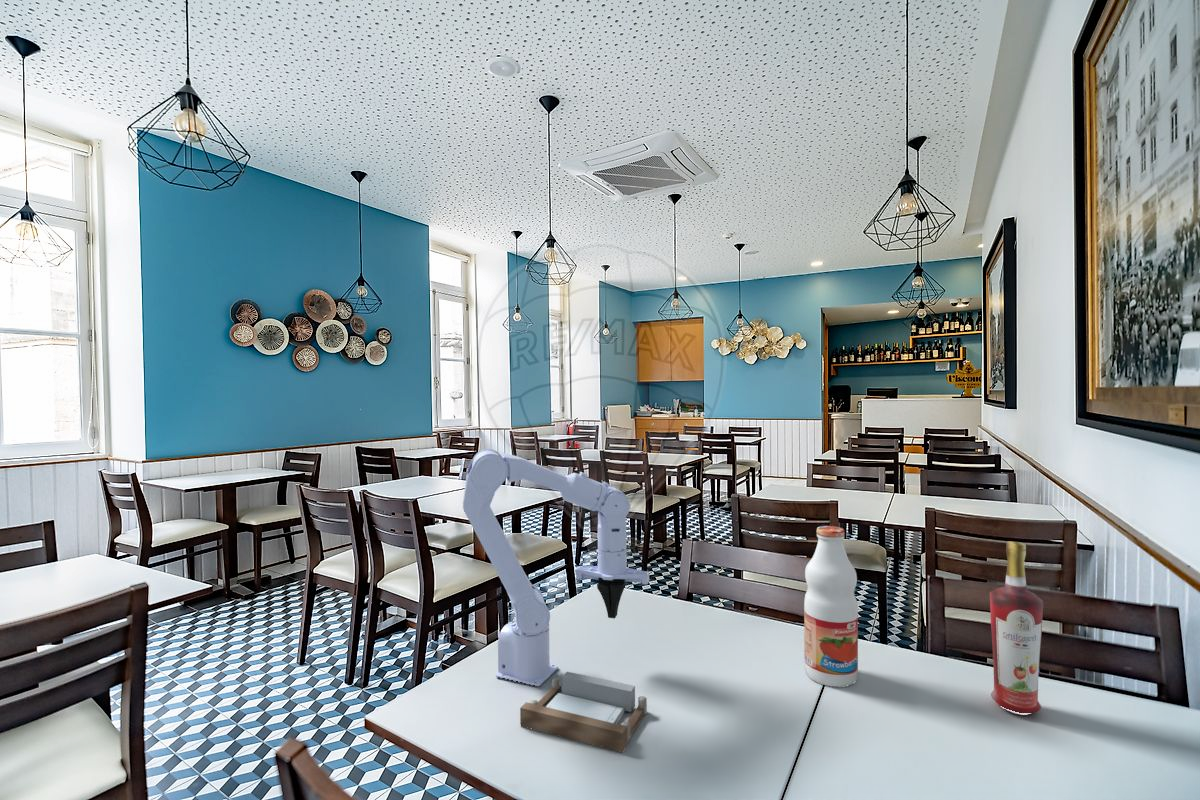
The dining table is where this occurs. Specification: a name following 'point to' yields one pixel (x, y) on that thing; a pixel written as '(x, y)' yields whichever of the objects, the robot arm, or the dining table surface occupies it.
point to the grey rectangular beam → (599, 690)
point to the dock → (580, 722)
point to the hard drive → (586, 708)
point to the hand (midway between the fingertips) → (612, 616)
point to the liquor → (1016, 637)
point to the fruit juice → (831, 612)
